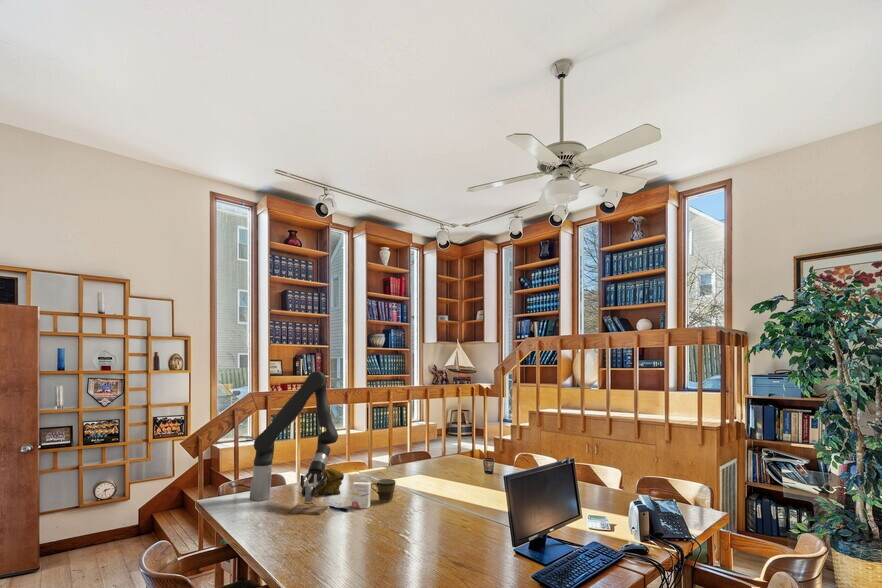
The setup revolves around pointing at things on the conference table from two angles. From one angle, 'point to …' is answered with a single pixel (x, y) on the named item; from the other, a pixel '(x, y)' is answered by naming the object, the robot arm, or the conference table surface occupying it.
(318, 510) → the walnut board
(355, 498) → the ink cartridge box
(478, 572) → the conference table surface
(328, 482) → the gourd
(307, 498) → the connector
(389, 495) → the ceramic cup
